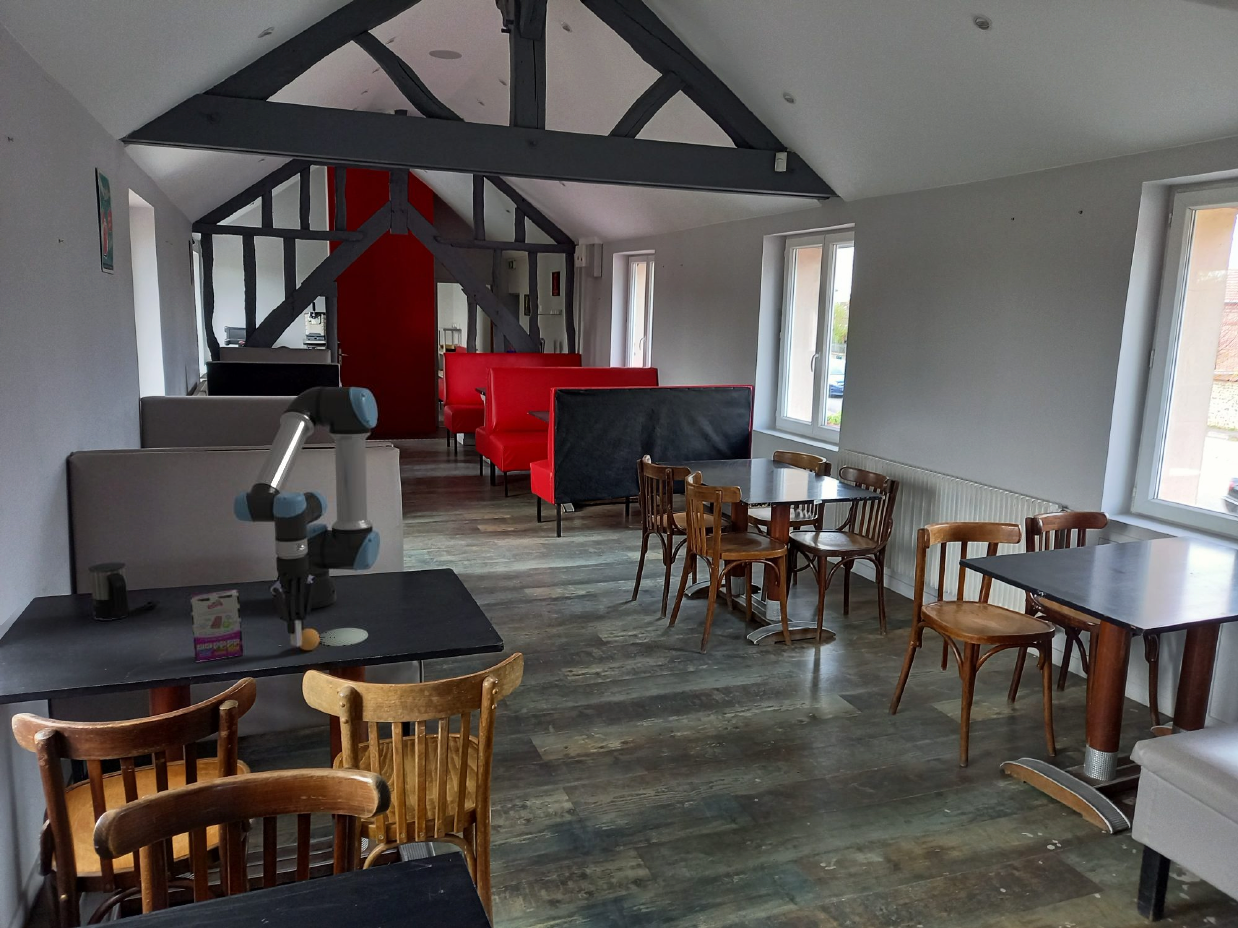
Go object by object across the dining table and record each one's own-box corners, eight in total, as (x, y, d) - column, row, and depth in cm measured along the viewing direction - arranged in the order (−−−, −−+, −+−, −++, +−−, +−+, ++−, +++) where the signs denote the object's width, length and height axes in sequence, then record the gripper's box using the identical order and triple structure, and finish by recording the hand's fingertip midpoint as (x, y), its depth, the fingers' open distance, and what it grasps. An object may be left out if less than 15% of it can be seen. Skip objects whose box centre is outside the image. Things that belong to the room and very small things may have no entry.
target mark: (307, 638, 233) (307, 638, 233) (347, 625, 243) (347, 624, 243) (338, 649, 225) (338, 649, 225) (378, 635, 236) (378, 634, 236)
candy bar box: (242, 649, 225) (238, 588, 222) (243, 656, 221) (239, 594, 218) (194, 656, 220) (189, 594, 217) (194, 663, 216) (190, 600, 213)
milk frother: (85, 618, 246) (80, 568, 243) (135, 602, 260) (131, 554, 258) (120, 626, 240) (115, 574, 238) (169, 609, 255) (165, 560, 252)
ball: (289, 636, 223) (305, 622, 227) (297, 651, 226) (313, 637, 230) (302, 641, 220) (318, 626, 224) (311, 656, 223) (327, 642, 227)
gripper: (278, 563, 211) (282, 655, 215) (323, 551, 222) (327, 640, 226) (259, 557, 215) (264, 648, 219) (305, 547, 226) (309, 633, 230)
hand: (296, 644), depth 222 cm, fingers closed
